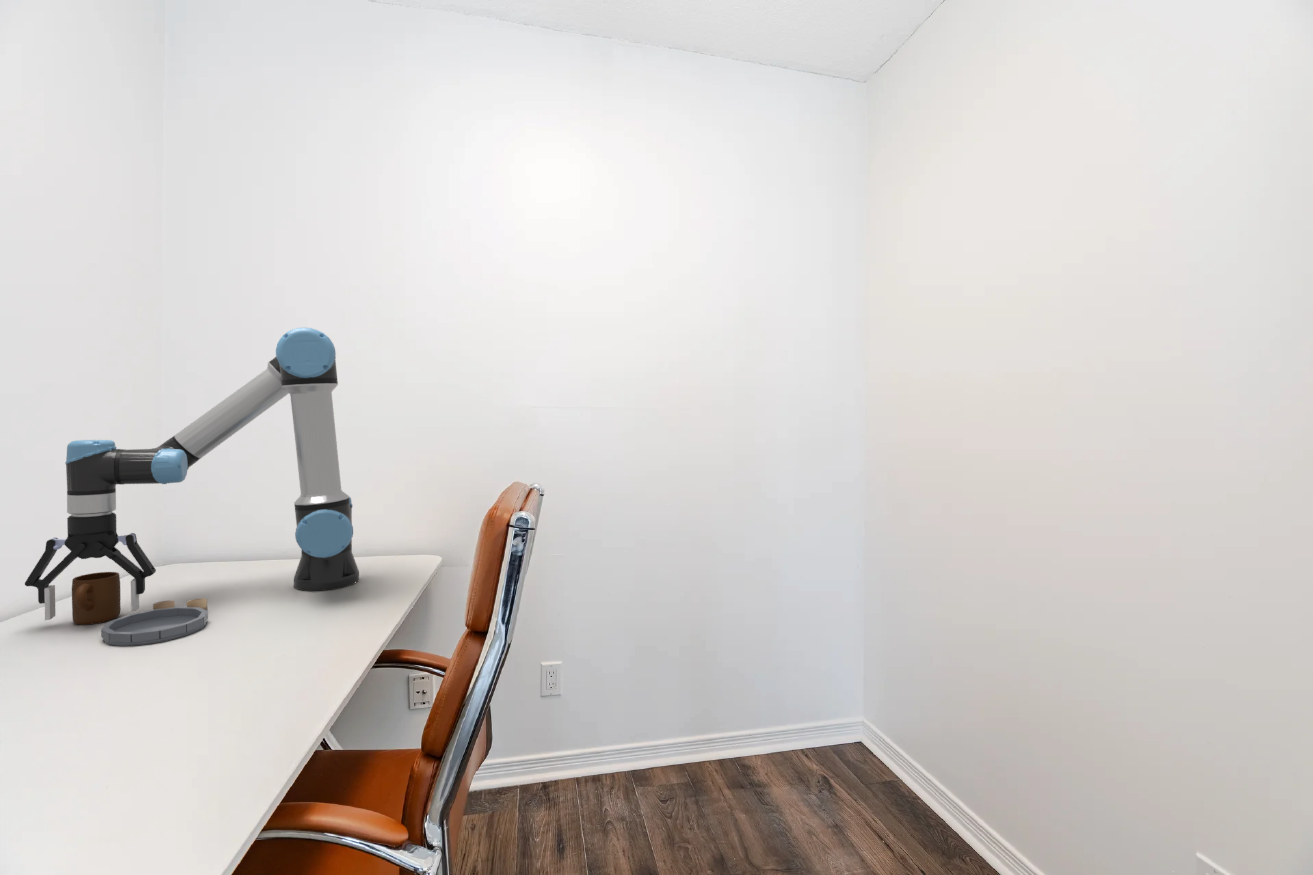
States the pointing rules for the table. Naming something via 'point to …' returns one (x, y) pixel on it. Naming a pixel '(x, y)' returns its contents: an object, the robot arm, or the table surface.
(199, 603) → the bead
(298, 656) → the table surface
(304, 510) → the robot arm
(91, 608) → the mug
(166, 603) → the bead
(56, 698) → the table surface
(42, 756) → the table surface
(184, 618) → the saucer
